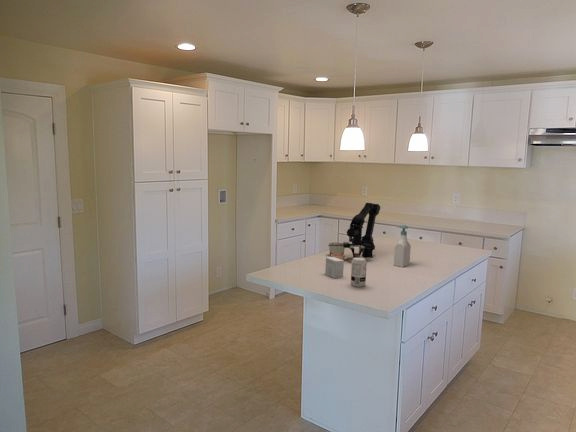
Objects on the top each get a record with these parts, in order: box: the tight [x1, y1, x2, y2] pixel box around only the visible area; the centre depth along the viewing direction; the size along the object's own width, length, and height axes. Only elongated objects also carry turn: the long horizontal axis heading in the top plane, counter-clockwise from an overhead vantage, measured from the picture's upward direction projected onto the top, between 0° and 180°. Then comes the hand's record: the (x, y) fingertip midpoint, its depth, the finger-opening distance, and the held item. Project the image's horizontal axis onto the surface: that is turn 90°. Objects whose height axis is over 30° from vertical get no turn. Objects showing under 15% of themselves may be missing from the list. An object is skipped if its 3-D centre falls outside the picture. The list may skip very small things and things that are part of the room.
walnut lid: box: [346, 252, 360, 264], centre depth 289 cm, size 11×11×5 cm
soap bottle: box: [393, 224, 412, 268], centre depth 283 cm, size 11×8×27 cm
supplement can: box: [350, 257, 368, 288], centre depth 236 cm, size 8×8×15 cm
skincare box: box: [324, 256, 345, 279], centre depth 254 cm, size 10×6×10 cm, turn 30°
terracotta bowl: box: [331, 254, 345, 261], centre depth 289 cm, size 9×9×4 cm
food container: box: [328, 242, 346, 257], centre depth 303 cm, size 12×6×10 cm, turn 84°
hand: (356, 257), depth 289 cm, fingers closed on walnut lid, 3 cm apart
